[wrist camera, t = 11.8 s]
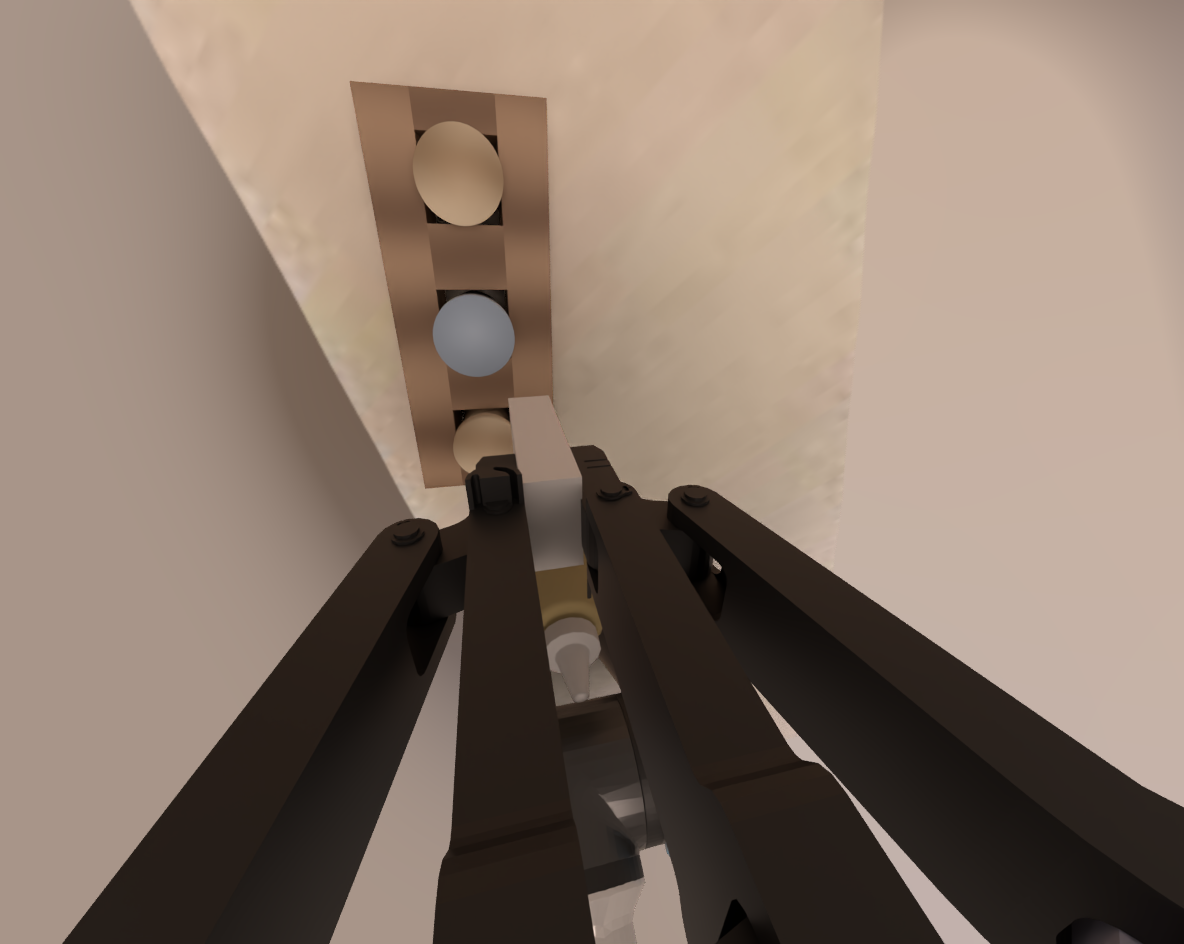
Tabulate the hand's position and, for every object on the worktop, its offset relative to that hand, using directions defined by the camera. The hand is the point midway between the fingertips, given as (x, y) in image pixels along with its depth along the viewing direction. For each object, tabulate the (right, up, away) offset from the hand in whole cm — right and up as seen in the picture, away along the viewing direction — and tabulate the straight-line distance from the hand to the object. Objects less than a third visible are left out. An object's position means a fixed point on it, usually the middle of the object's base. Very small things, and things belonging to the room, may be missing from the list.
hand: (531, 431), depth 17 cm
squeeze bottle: (-2, -9, +29) cm, 31 cm away
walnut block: (-7, +11, +17) cm, 21 cm away
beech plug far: (-7, +3, +20) cm, 21 cm away
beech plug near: (-6, +17, +12) cm, 22 cm away
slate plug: (-6, +10, +15) cm, 19 cm away
